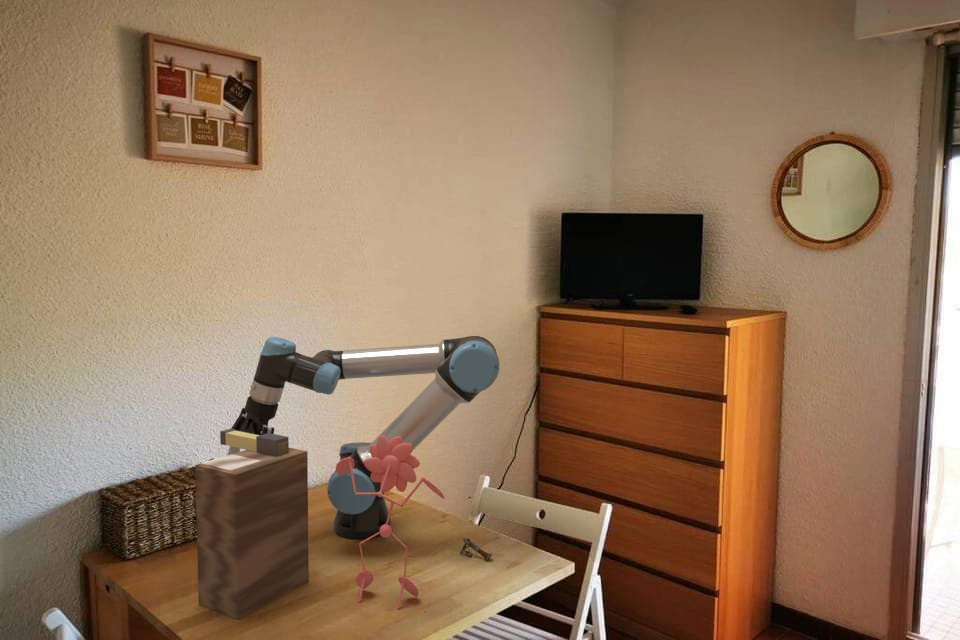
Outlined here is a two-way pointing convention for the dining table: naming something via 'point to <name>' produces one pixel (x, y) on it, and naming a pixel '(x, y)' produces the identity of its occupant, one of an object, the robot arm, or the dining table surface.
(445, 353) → the robot arm
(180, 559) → the dining table surface
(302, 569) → the tall wood-grain block
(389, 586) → the dining table surface
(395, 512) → the dining table surface
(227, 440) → the marker
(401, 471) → the figurine
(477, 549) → the wooden post with brackets
